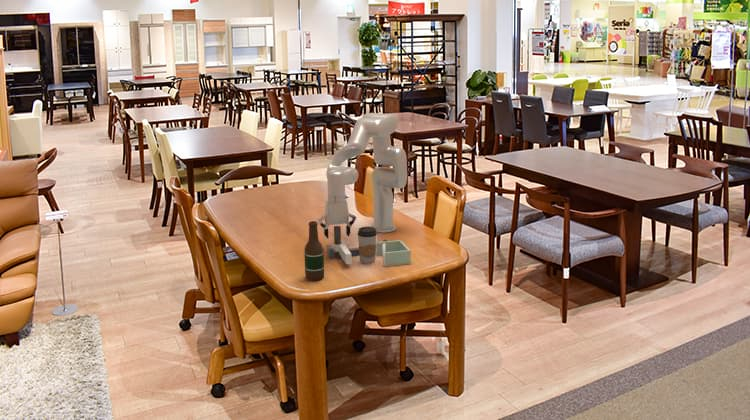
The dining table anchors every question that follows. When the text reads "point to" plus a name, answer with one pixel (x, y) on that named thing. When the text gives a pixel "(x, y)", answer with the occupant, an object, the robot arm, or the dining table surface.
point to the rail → (333, 254)
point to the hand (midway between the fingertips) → (337, 236)
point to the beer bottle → (314, 255)
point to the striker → (341, 246)
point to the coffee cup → (367, 244)
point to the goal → (393, 252)
